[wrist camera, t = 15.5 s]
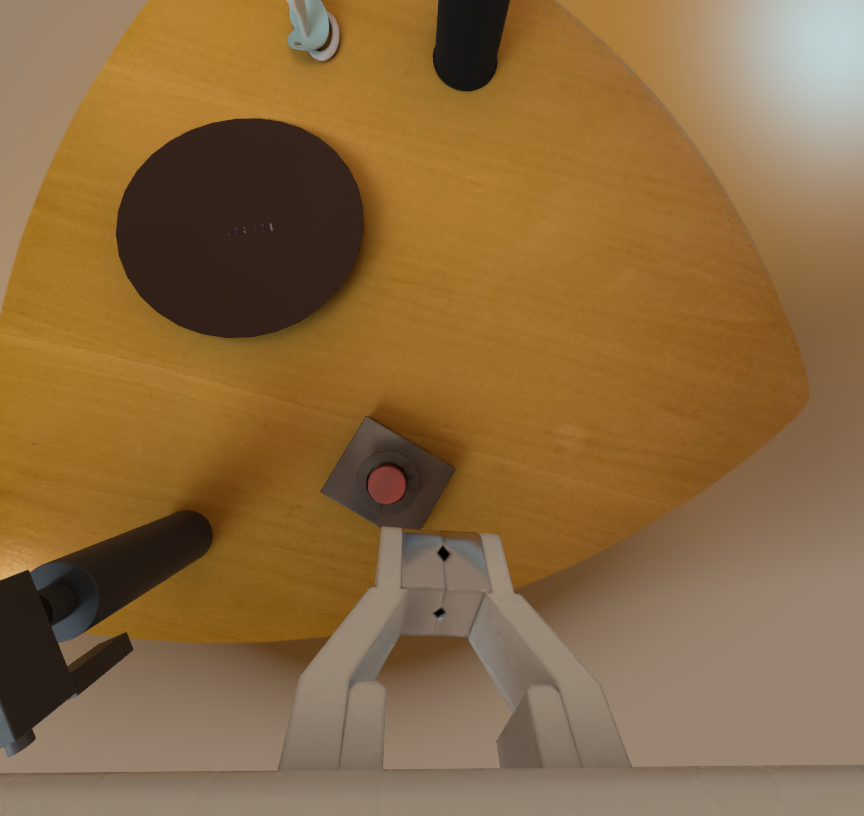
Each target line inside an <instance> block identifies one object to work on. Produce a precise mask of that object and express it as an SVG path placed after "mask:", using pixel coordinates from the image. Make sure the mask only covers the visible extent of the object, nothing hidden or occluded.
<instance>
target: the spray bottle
mask: <svg viewBox="0 0 864 816" xmlns="http://www.w3.org/2000/svg"><path fill="white" fill-rule="evenodd" d="M211 541H212V529H211V526H210V524H209V522H208V521H207V520H206V518H205V517H203V516H202V515H201V514H199V513H197V512H194V511H180V512H177V513H174V514H172V515H169V516H167V517H164V518H161V519H159V520H156V521H154V522H151V523H149V524H146V525H143V526H141V527H138V528H136V529H133V530H131V531H128V532H125V533H123V534H120V535H118V536H115V537H113V538H110V539H107V540H105V541H102V542H100V543H97V544H94V545H92V546H89V547H87V548H84V549H82V550H79V551H76V552H74V553H71V554H69V555H66V556H64V557H61V558H58V559H56V560H53V561H51V562H48V563H46V564H43V565H41V566H39V567H37V568H36V569H34V570H33V571H32V572H29V570H26V571H24V572H21V573H18V574H16V575H13V576H11V577H8V578H5V579H3V580H0V748H2V747H4V748H5V751H6V753H7V756H8V757H10V756H12V755H15V754H16V753H18V752H20V751H21V750H23V749H24V748H26V747H27V746H29V745H30V744H31V743H32V742H33V741H34V740H35V739H36V737H35V735H34V732H33V730H32V728H33V727H34V726H35V725H37V724H38V723H39V722H41V721H42V720H43V719H44V718H45V717H47V716H48V715H49V714H50V713H52V712H53V711H54V710H55V709H57V708H58V707H59V706H60V705H62V704H63V703H64V702H65V701H66V700H68V699H69V698H70V697H71V696H73V695H74V694H75V693H76V692H77V690H76V688H75V685H74V683H73V680H72V677H71V675H70V672H69V670H68V667H67V665H66V662H65V660H64V657H63V655H62V652H61V650H60V647H59V645H58V642H64V641H68V640H71V639H73V638H75V637H77V636H79V635H81V634H82V633H84V632H85V631H87V630H88V629H90V628H91V627H93V626H95V625H96V624H98V623H99V622H101V621H102V620H104V619H105V618H107V617H109V616H110V615H112V614H113V613H115V612H116V611H118V610H119V609H121V608H123V607H124V606H126V605H127V604H129V603H130V602H132V601H133V600H135V599H137V598H138V597H140V596H141V595H143V594H144V593H146V592H147V591H149V590H151V589H152V588H154V587H155V586H157V585H158V584H160V583H161V582H163V581H165V580H166V579H168V578H169V577H171V576H172V575H174V574H175V573H177V572H179V571H180V570H182V569H183V568H185V567H186V566H188V565H189V564H191V563H193V562H194V561H196V560H197V559H199V558H200V557H202V556H203V555H204V554H205V553H206V552H207V550H208V549H209V547H210V545H211Z"/></svg>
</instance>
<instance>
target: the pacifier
mask: <svg viewBox="0 0 864 816" xmlns="http://www.w3.org/2000/svg"><path fill="white" fill-rule="evenodd" d="M287 2H288V4H289V15H290V19H291V22H292V24H293V26H294V30H293V31H292V32H291V33H290V35H289V36H288V39H287V42H288V44H289V46H290V47H291V48H293V49H296V50H305V51H308V52H309V53H310V54H311V56H312V57H313V58H315V59H316V60H319V61H326V60H328V59H330V58H331V57H332V56H333V55H334V53H335V52H336V50H337V47H338V45H339V38H340V33H339V27H338V23H337V21H336V19H335V17H334V16H333V15H332V14H331V13H330V12H328V11H326V9H325V7H324V5H323V3H322V1H321V0H287ZM329 24H330V25H331V27H332V30H333V35H332V40H331V43H330V45H329V47H328V48H327V49H326V50H324V51H316V50H317V49H318V48H320V47H322V46H323V45H324V44H325V43H326V41H327V38H328V35H329ZM296 44H301V45H299V46H298V45H296Z"/></svg>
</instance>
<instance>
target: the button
mask: <svg viewBox="0 0 864 816" xmlns="http://www.w3.org/2000/svg"><path fill="white" fill-rule="evenodd" d="M405 488H406V478H405V475H404V473H403V472H402V471H401V470H400V469H399V468H398V467H396V466H394V465H389V464H387V465H382V466H380V467H378V468H376V469H375V470H374V471H373V473H372V474H371V476H370V478H369V480H368V490H369V493H370V495H371V497H372V498H373V499H374V500H375V501H377V502H379V503H382V504H391V503H394V502H396V501H398V500H399V499H400V498H401V497H402V495H403V494H404V491H405Z"/></svg>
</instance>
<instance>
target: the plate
mask: <svg viewBox="0 0 864 816" xmlns="http://www.w3.org/2000/svg"><path fill="white" fill-rule="evenodd" d="M362 232H363V206H362V202H361V198H360V194H359V190H358V186H357V184H356V182H355V180H354V178H353V176H352V174H351V172H350V170H349V168H348V166H347V165H346V164H345V163H344V161H343V160H342V159H341V158H340V156H339V155H338V154H337V153H336V151H334V150H333V149H332V148H331V147H330V146H328V145H327V144H326V143H325V142H324V141H322V140H321V139H320V138H318V137H316V136H315V135H313V134H311V133H309V132H307V131H305V130H303V129H302V128H299V127H296V126H293V125H289V124H286V123H283V122H280V121H272V120H265V119H233V120H227V121H221V122H215V123H211V124H208V125H205V126H202V127H199V128H196V129H193V130H190V131H188V132H186V133H184V134H182V135H181V136H179V137H177V138H175V139H173V140H171V141H169V142H168V143H167V144H165V145H164V146H163V147H161V148H160V149H159V150H157V151H156V152H155V153H153V154H152V155H151V156H150V157H149V158H148V159H147V161H146V162H145V163H144V164H143V165H142V166H141V167H140V168H139V169H138V170H137V172H136V173H135V175H134V177H133V178H132V180H131V182H130V183H129V185H128V187H127V188H126V190H125V192H124V195H123V198H122V201H121V204H120V207H119V210H118V218H117V228H116V237H117V244H118V252H119V257H120V259H121V262H122V265H123V267H124V270H125V272H126V275H127V277H128V279H129V280H130V282H131V283H132V285H133V286H134V288H135V289H136V290H137V292H138V293H139V295H140V296H141V297H142V298H143V299H144V300H145V301H146V302H147V303H148V304H149V305H150V306H151V307H152V308H153V309H154V310H156V311H157V312H158V313H159V314H161V315H162V316H164V317H166V318H167V319H169V320H171V321H172V322H174V323H176V324H177V325H179V326H182V327H184V328H187V329H190V330H193V331H195V332H198V333H201V334H206V335H212V336H218V337H225V338H238V337H255V336H259V335H264V334H268V333H273V332H277V331H279V330H282V329H284V328H286V327H289V326H291V325H293V324H296V323H298V322H300V321H302V320H303V319H305V318H306V317H308V316H309V315H310V314H312V313H313V312H315V311H316V310H318V309H319V308H321V307H322V306H323V305H324V304H325V303H326V302H327V301H328V300H329V299H330V298H331V297H332V296H333V295H334V294H335V293H336V292H337V291H338V289H339V288H340V286H341V285H342V283H343V282H344V280H345V279H346V277H347V276H348V274H349V273H350V271H351V269H352V266H353V264H354V261H355V259H356V256H357V254H358V252H359V248H360V243H361V237H362Z"/></svg>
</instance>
